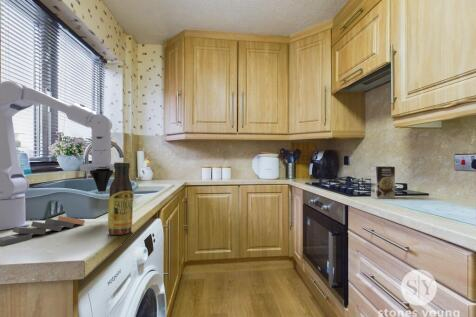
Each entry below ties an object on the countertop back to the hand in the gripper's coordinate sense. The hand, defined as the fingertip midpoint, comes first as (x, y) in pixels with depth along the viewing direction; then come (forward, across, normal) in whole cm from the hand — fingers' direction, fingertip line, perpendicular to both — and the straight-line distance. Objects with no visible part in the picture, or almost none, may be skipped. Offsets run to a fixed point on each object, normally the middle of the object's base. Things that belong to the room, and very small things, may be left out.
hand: (101, 191), depth 87 cm
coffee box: (+10, +82, -98) cm, 129 cm away
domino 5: (+9, -6, +3) cm, 11 cm away
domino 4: (+9, -9, +3) cm, 14 cm away
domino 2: (+9, -17, +4) cm, 20 cm away
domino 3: (+9, -13, +3) cm, 16 cm away
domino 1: (+9, -21, +4) cm, 23 cm away
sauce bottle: (+10, -9, -17) cm, 22 cm away
